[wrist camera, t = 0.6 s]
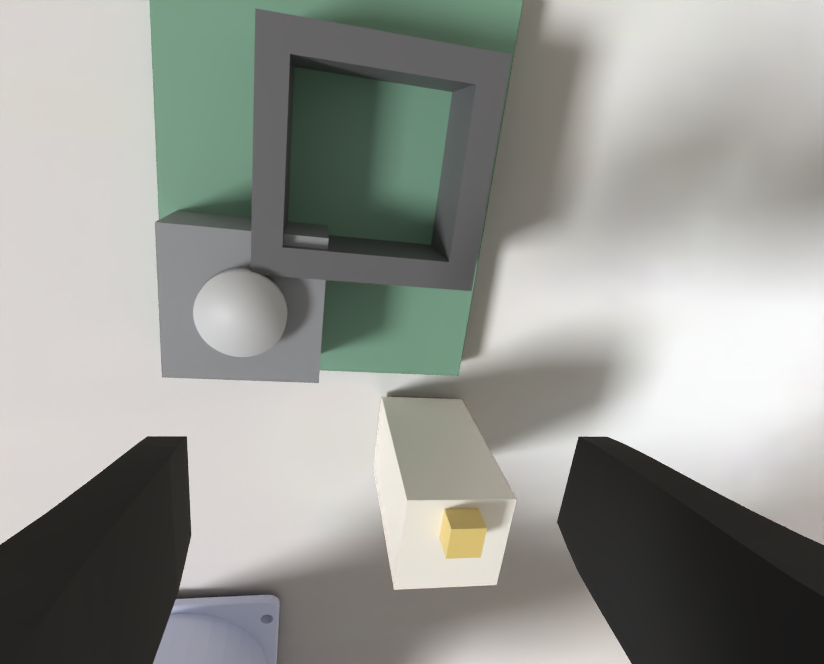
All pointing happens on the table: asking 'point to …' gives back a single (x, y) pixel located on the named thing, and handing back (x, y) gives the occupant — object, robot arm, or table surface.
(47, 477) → the table surface
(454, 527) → the plug
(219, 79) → the board
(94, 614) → the robot arm
